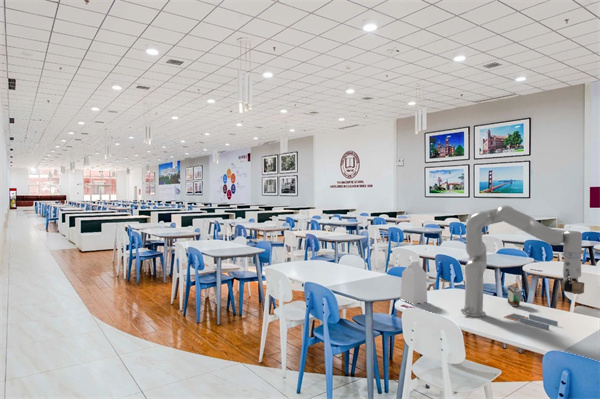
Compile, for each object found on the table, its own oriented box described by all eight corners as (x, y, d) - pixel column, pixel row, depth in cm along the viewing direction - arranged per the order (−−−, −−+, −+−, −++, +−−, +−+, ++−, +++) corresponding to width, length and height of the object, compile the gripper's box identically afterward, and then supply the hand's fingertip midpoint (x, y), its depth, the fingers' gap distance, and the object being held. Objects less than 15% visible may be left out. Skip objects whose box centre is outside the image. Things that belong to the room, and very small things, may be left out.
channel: (547, 330, 199) (548, 325, 199) (519, 322, 210) (520, 317, 210) (557, 325, 205) (557, 321, 205) (529, 318, 216) (529, 314, 216)
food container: (524, 308, 234) (525, 292, 234) (513, 307, 236) (514, 291, 235) (517, 302, 246) (517, 287, 246) (506, 302, 248) (507, 286, 247)
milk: (413, 304, 239) (414, 263, 238) (400, 300, 249) (401, 260, 248) (427, 302, 245) (428, 261, 244) (413, 297, 255) (414, 258, 254)
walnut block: (579, 294, 191) (579, 284, 191) (561, 290, 198) (561, 281, 197) (584, 292, 194) (584, 282, 194) (566, 289, 201) (566, 279, 201)
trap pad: (518, 321, 211) (518, 320, 211) (503, 317, 218) (503, 316, 218) (527, 317, 217) (527, 316, 217) (513, 313, 224) (513, 312, 224)
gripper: (573, 257, 188) (572, 294, 189) (587, 254, 198) (586, 289, 198) (556, 255, 194) (555, 290, 195) (571, 252, 204) (569, 286, 205)
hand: (570, 289), depth 197 cm, fingers closed on walnut block, 6 cm apart
